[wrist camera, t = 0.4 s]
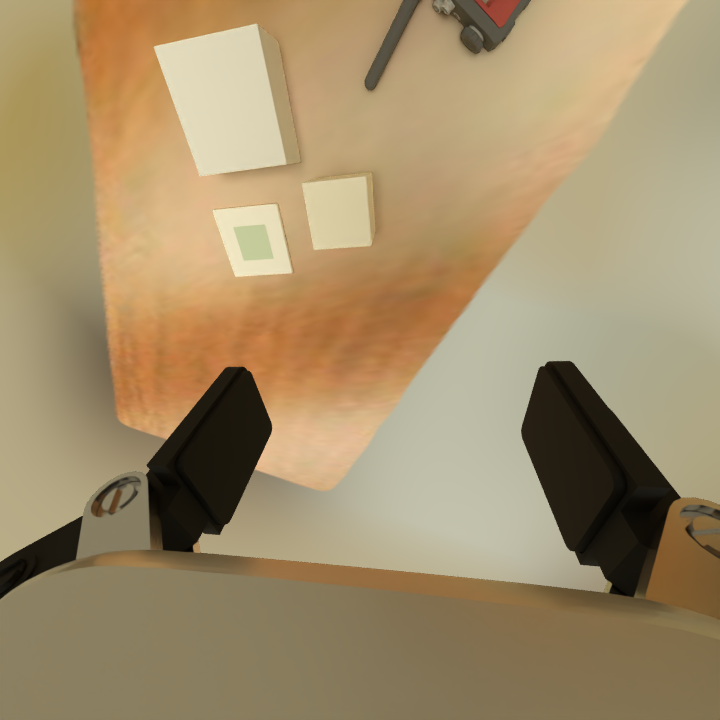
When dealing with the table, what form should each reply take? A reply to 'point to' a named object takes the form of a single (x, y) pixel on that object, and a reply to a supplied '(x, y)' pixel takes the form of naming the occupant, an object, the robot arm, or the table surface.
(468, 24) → the walkie-talkie
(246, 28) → the base block
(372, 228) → the cream cube
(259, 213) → the card
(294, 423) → the table surface
